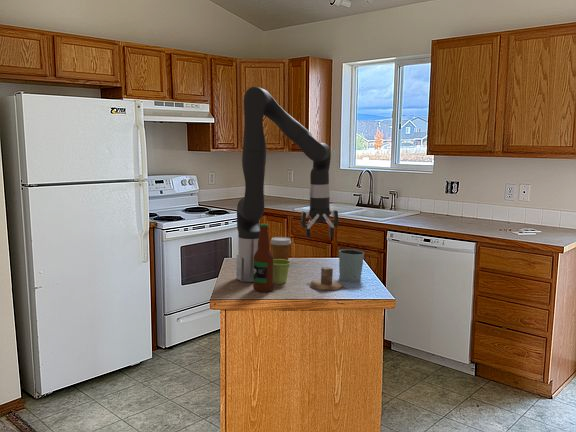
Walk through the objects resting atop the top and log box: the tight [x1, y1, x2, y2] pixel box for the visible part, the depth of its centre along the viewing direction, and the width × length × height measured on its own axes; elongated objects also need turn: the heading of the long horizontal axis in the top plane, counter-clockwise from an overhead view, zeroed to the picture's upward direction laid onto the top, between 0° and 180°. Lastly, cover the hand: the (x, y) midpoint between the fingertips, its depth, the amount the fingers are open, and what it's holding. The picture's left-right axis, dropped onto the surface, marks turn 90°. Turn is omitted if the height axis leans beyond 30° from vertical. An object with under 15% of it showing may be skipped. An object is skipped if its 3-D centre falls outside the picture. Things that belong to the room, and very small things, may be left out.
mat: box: [306, 282, 348, 293], centre depth 200 cm, size 12×12×1 cm
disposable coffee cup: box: [269, 236, 292, 260], centre depth 235 cm, size 10×10×12 cm
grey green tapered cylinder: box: [338, 248, 365, 283], centre depth 211 cm, size 10×10×12 cm
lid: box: [310, 266, 343, 292], centre depth 200 cm, size 12×12×7 cm
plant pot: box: [273, 259, 292, 285], centre depth 205 cm, size 9×9×9 cm
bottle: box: [253, 223, 274, 293], centre depth 194 cm, size 7×7×25 cm
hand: (319, 237), depth 201 cm, fingers open, 8 cm apart
